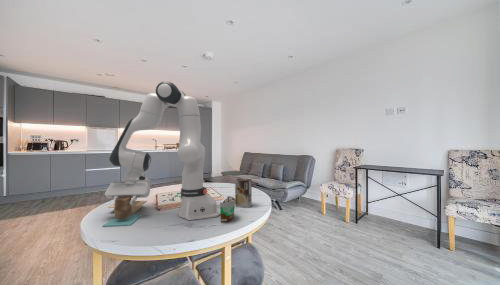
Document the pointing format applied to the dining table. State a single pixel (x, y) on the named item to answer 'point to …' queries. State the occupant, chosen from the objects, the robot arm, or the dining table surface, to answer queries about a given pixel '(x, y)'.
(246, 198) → the coffee box
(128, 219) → the board
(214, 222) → the dining table surface
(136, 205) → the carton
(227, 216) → the food container
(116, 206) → the block
